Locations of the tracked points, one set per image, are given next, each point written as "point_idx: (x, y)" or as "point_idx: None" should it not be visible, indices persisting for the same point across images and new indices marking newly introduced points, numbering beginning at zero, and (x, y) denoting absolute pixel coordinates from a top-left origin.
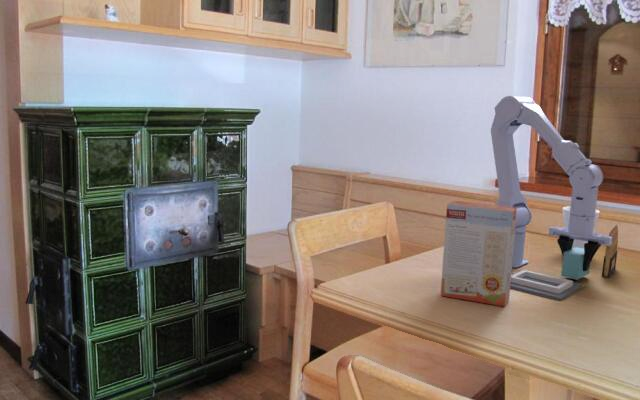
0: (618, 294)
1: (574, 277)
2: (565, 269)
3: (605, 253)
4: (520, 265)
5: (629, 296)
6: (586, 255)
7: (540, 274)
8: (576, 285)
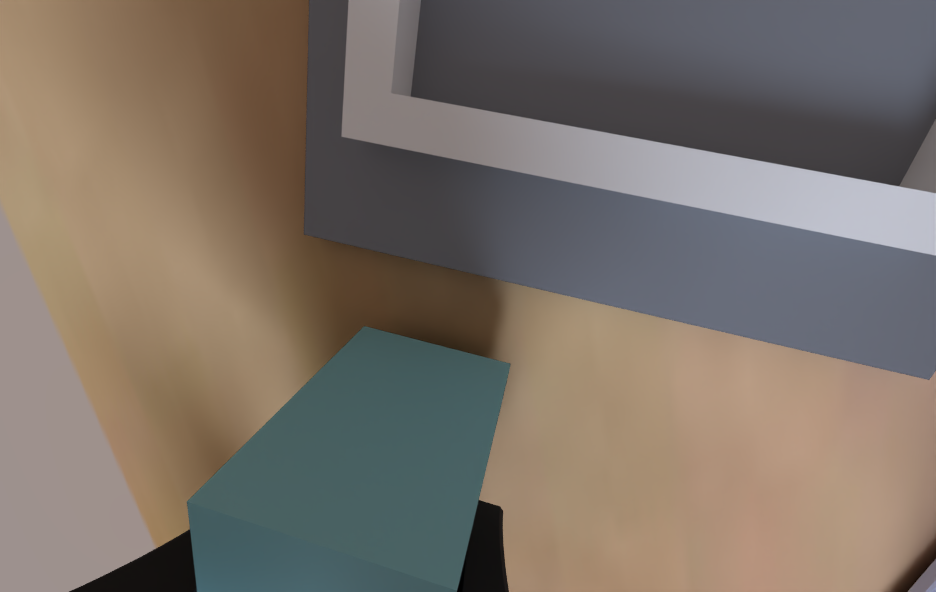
0: (86, 211)
1: (386, 339)
2: (462, 396)
3: None
4: (927, 578)
5: (27, 210)
6: (168, 575)
7: (729, 174)
8: (342, 180)
